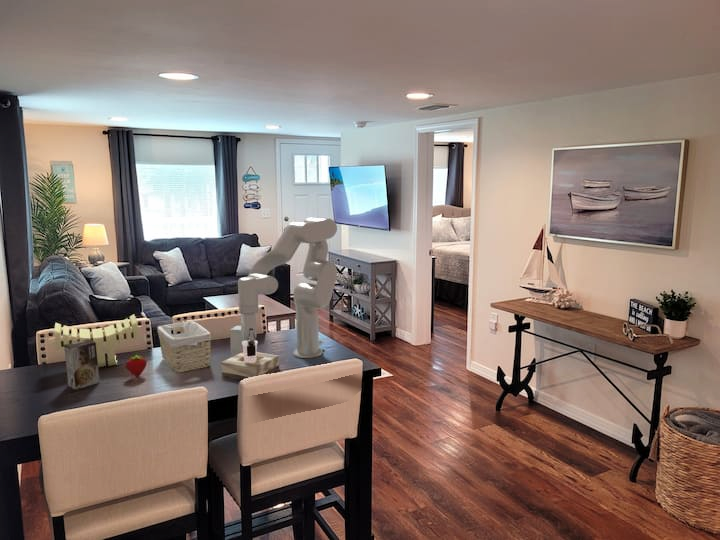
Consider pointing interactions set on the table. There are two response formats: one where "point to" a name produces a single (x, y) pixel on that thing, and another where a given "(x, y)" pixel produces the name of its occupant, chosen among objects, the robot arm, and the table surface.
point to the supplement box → (236, 341)
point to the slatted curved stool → (100, 338)
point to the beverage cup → (246, 358)
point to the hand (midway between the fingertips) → (250, 352)
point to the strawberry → (136, 365)
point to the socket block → (249, 365)
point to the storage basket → (185, 346)
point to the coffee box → (81, 363)
